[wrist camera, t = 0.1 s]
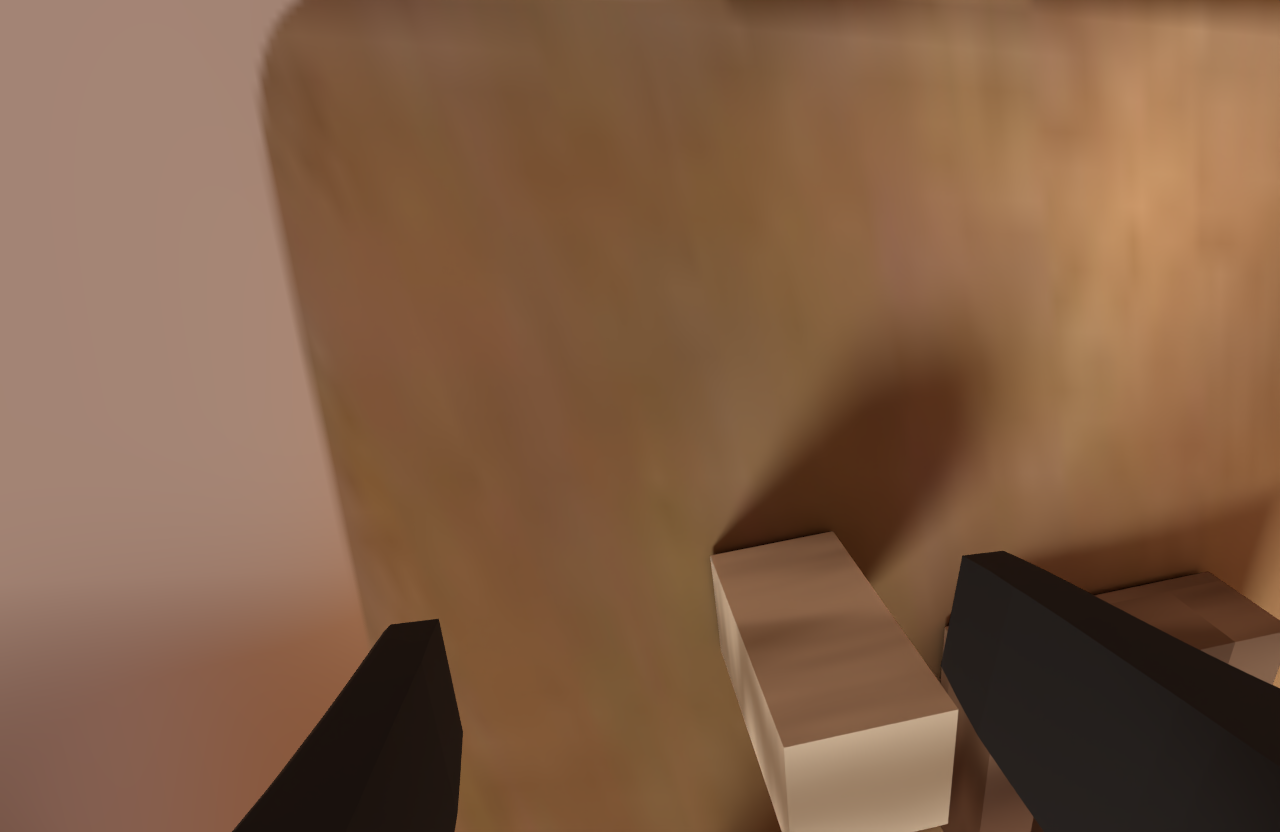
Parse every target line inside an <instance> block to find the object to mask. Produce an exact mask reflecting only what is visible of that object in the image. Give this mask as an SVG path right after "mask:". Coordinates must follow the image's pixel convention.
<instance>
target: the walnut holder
mask: <svg viewBox="0 0 1280 832" xmlns="http://www.w3.org/2000/svg"><path fill="white" fill-rule="evenodd" d="M1094 596H1096V597H1098V598H1100V599H1102V600H1104V601H1106V602H1107V603H1109V604H1111V605H1113V606H1115V607H1117V608H1119V609H1121V610H1123V611H1125V612H1127V613H1129V614H1131V615H1132V616H1134V617H1136V618H1138V619H1140V620H1142V621H1144V622H1146V623H1148V624H1150V625H1152V626H1154V627H1156V628H1158V629H1160V630H1162V631H1164V632H1165V633H1167V634H1169V635H1171V636H1173V637H1175V638H1177V639H1179V640H1181V641H1183V642H1185V643H1187V644H1189V645H1191V646H1193V647H1195V648H1197V649H1199V650H1201V651H1203V652H1205V653H1207V654H1209V655H1211V656H1213V657H1215V658H1217V659H1219V660H1221V661H1223V662H1225V663H1227V664H1229V665H1231V666H1233V667H1235V668H1237V669H1240V670H1242V671H1244V672H1246V673H1248V674H1250V675H1252V676H1254V677H1256V678H1259V679H1261V680H1263V681H1265V682H1267V683H1269V684H1271V685H1273V682H1274V679H1275V677H1276V674H1277V671H1278V669H1279V666H1280V620H1278V619H1277V618H1275V617H1274V616H1272V615H1271V614H1269V613H1268V612H1267V611H1265V610H1264V609H1262V608H1261V607H1259V606H1258V605H1256V604H1255V603H1253V602H1252V601H1250V600H1249V599H1248V598H1246V597H1245V596H1243V595H1242V594H1240V593H1239V592H1237V591H1236V590H1234V589H1233V588H1231V587H1230V586H1229V585H1227V584H1226V583H1224V582H1223V581H1221V580H1220V579H1218V578H1217V577H1215V576H1214V575H1212V574H1211V573H1210V572H1204V573H1199V574H1194V575H1189V576H1185V577H1180V578H1175V579H1170V580H1166V581H1161V582H1156V583H1151V584H1147V585H1142V586H1137V587H1132V588H1127V589H1123V590H1118V591H1113V592H1108V593H1104V594H1099V595H1094ZM948 627H949V626H947V627H945V632H944V644H943V652H944V647H945V642H946V637H947V632H948ZM940 684H941V685H942V687H943V688H944V690H945V691H946V692H947V694H948V695H949V697H950V698H951V699H952V701H953V702H954V704H955V705H956V707H957V708H958V709H959V710H958V720H957V731H956V742H955V752H954V763H953V774H952V784H951V795H950V806H949V816H948V824H945V825H941V828H942V830H943V832H1044V831H1043V830H1042V828H1041V827H1040V825H1039V824H1038V823H1037V821H1036V820H1035V818H1034V817H1033V815H1032V814H1031V813H1030V811H1029V810H1028V808H1027V807H1026V805H1025V804H1024V803H1023V801H1022V800H1021V798H1020V797H1019V795H1018V794H1017V793H1016V791H1015V790H1014V788H1013V787H1012V785H1011V784H1010V782H1009V781H1008V780H1007V778H1006V777H1005V775H1004V774H1003V772H1002V771H1001V769H1000V768H999V766H998V765H997V763H996V762H995V761H994V759H993V758H992V756H991V755H990V753H989V752H988V750H987V749H986V747H985V746H984V744H983V743H982V741H981V740H980V738H979V737H978V735H977V733H976V732H975V730H974V728H973V726H972V724H971V723H970V721H969V719H968V717H967V715H966V714H965V712H964V710H963V708H962V706H961V705H960V703H959V701H958V699H957V697H956V695H955V693H954V691H953V689H952V687H951V685H950V683H949V681H948V679H947V677H946V675H945V673H944V671H943V669H942V670H941V683H940Z"/></svg>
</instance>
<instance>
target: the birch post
mask: <svg viewBox="0 0 1280 832" xmlns="http://www.w3.org/2000/svg"><path fill="white" fill-rule="evenodd" d="M710 559H711V567H712V576H713V585H714V593H715V602H716V611H717V619H718V628H719V637H720V645H721V652H722V655H723V658H724V661H725V664H726V667H727V670H728V673H729V676H730V679H731V682H732V685H733V688H734V691H735V694H736V697H737V700H738V703H739V706H740V709H741V712H742V714H743V717H744V720H745V723H746V726H747V729H748V732H749V735H750V738H751V741H752V744H753V747H754V750H755V753H756V756H757V759H758V762H759V765H760V768H761V771H762V774H763V777H764V780H765V783H766V786H767V789H768V792H769V795H770V798H771V801H772V804H773V807H774V810H775V813H776V816H777V819H778V822H779V825H780V828H781V831H782V832H915V831H919V830H924V829H928V828H932V827H937V826H941V825H945V824H948V816H949V806H950V795H951V784H952V774H953V763H954V752H955V742H956V731H957V720H958V710H959V709H958V708H957V707H956V705H955V704H954V702H953V701H952V699H951V698H950V697H949V695H948V694H947V692H946V691H945V690H944V688H943V687H942V685H941V684H940V682H939V681H938V680H937V678H936V677H935V675H934V674H933V673H932V671H931V670H930V668H929V667H928V665H927V664H926V663H925V661H924V660H923V658H922V657H921V655H920V654H919V653H918V651H917V650H916V648H915V647H914V646H913V644H912V643H911V641H910V640H909V638H908V637H907V636H906V634H905V633H904V631H903V630H902V628H901V627H900V626H899V624H898V623H897V621H896V620H895V619H894V617H893V616H892V614H891V613H890V611H889V610H888V609H887V607H886V606H885V604H884V603H883V602H882V600H881V599H880V597H879V596H878V594H877V593H876V592H875V590H874V589H873V587H872V586H871V584H870V583H869V582H868V580H867V579H866V577H865V576H864V575H863V573H862V572H861V570H860V569H859V567H858V566H857V565H856V563H855V562H854V560H853V559H852V558H851V556H850V555H849V553H848V552H847V550H846V549H845V548H844V546H843V545H842V543H841V542H840V540H839V539H838V538H837V536H836V535H835V533H834V532H833V531H832V532H827V533H822V534H817V535H812V536H807V537H801V538H796V539H791V540H786V541H781V542H776V543H771V544H766V545H761V546H756V547H751V548H746V549H741V550H736V551H731V552H726V553H721V554H716V555H711V556H710Z"/></svg>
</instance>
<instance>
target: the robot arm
mask: <svg viewBox="0 0 1280 832" xmlns="http://www.w3.org/2000/svg"><path fill="white" fill-rule="evenodd" d="M941 667H942V669H943V671H944V673H945V675H946V677H947V679H948V681H949V683H950V685H951V687H952V689H953V691H954V693H955V695H956V697H957V699H958V701H959V703H960V705H961V706H962V708H963V710H964V712H965V714H966V715H967V717H968V719H969V721H970V723H971V724H972V726H973V728H974V730H975V732H976V733H977V735H978V737H979V738H980V740H981V741H982V743H983V744H984V746H985V747H986V749H987V750H988V752H989V753H990V755H991V756H992V758H993V759H994V761H995V762H996V763H997V765H998V766H999V768H1000V769H1001V771H1002V772H1003V774H1004V775H1005V777H1006V778H1007V780H1008V781H1009V782H1010V784H1011V785H1012V787H1013V788H1014V790H1015V791H1016V793H1017V794H1018V795H1019V797H1020V798H1021V800H1022V801H1023V803H1024V804H1025V805H1026V807H1027V808H1028V810H1029V811H1030V813H1031V814H1032V815H1033V817H1034V818H1035V820H1036V821H1037V823H1038V824H1039V825H1040V827H1041V828H1042V830H1043V831H1044V832H1280V688H1278V687H1276V686H1273V685H1271V684H1269V683H1267V682H1265V681H1263V680H1261V679H1259V678H1256V677H1254V676H1252V675H1250V674H1248V673H1246V672H1244V671H1242V670H1240V669H1237V668H1235V667H1233V666H1231V665H1229V664H1227V663H1225V662H1223V661H1221V660H1219V659H1217V658H1215V657H1213V656H1211V655H1209V654H1207V653H1205V652H1203V651H1201V650H1199V649H1197V648H1195V647H1193V646H1191V645H1189V644H1187V643H1185V642H1183V641H1181V640H1179V639H1177V638H1175V637H1173V636H1171V635H1169V634H1167V633H1165V632H1164V631H1162V630H1160V629H1158V628H1156V627H1154V626H1152V625H1150V624H1148V623H1146V622H1144V621H1142V620H1140V619H1138V618H1136V617H1134V616H1132V615H1131V614H1129V613H1127V612H1125V611H1123V610H1121V609H1119V608H1117V607H1115V606H1113V605H1111V604H1109V603H1107V602H1106V601H1104V600H1102V599H1100V598H1098V597H1096V596H1094V595H1092V594H1090V593H1088V592H1086V591H1084V590H1082V589H1081V588H1079V587H1077V586H1075V585H1073V584H1071V583H1069V582H1067V581H1065V580H1063V579H1061V578H1059V577H1057V576H1055V575H1053V574H1051V573H1049V572H1047V571H1045V570H1043V569H1041V568H1039V567H1037V566H1035V565H1033V564H1031V563H1029V562H1027V561H1025V560H1023V559H1020V558H1018V557H1016V556H1014V555H1011V554H1009V553H1007V552H1005V551H998V552H990V553H981V554H973V555H965V556H962V561H961V566H960V571H959V576H958V581H957V586H956V591H955V596H954V601H953V607H952V612H951V617H950V622H949V627H948V632H947V637H946V642H945V647H944V652H943V657H942V662H941ZM462 738H463V731H462V726H461V721H460V716H459V712H458V707H457V702H456V698H455V693H454V688H453V684H452V679H451V674H450V670H449V665H448V660H447V656H446V651H445V646H444V641H443V637H442V632H441V627H440V623H439V619H433V620H425V621H417V622H409V623H400V624H392V625H390V626H389V627H388V628H387V629H386V630H385V631H384V632H383V634H382V635H381V636H380V638H379V639H378V641H377V642H376V643H375V645H374V646H373V648H372V649H371V650H370V652H369V653H368V655H367V656H366V658H365V659H364V660H363V662H362V663H361V665H360V666H359V667H358V669H357V670H356V672H355V673H354V675H353V676H352V677H351V679H350V680H349V682H348V683H347V684H346V686H345V687H344V688H343V690H342V691H341V693H340V694H339V696H338V697H337V698H336V699H335V701H334V702H333V704H332V705H331V706H330V708H329V709H328V711H327V712H326V713H325V715H324V716H323V718H322V719H321V720H320V721H319V723H318V724H317V725H316V727H315V728H314V729H313V730H312V732H311V733H310V735H309V736H308V737H307V739H306V740H305V741H304V742H303V744H302V745H301V746H300V748H299V749H298V750H297V752H296V753H295V754H294V756H293V757H292V758H291V759H290V761H289V762H288V763H287V765H286V766H285V767H284V769H283V770H282V771H281V772H280V774H279V775H278V776H277V778H276V779H275V780H274V781H273V783H272V784H271V785H270V787H269V788H268V789H267V790H266V791H265V793H264V794H263V795H262V796H261V798H260V799H259V800H258V801H257V802H256V804H255V805H254V806H253V807H252V808H251V810H250V811H249V812H248V813H247V814H246V816H245V817H244V818H243V819H242V821H241V822H240V823H239V824H238V825H237V827H236V828H235V829H234V830H233V831H232V832H454V831H455V825H456V819H457V811H458V798H459V785H460V771H461V754H462Z"/></svg>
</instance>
